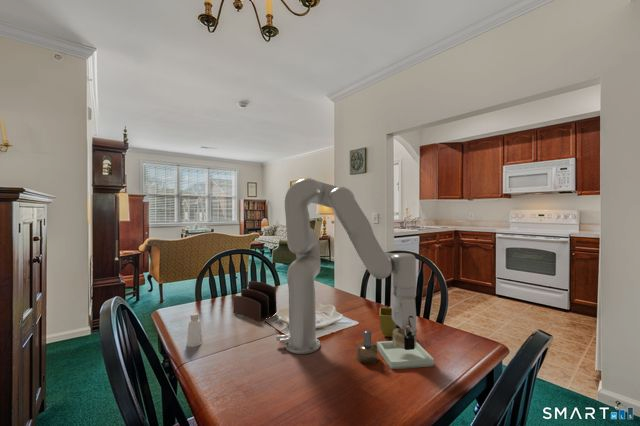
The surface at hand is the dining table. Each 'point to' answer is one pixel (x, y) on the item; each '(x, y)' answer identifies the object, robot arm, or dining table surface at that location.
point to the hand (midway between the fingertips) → (404, 343)
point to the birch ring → (400, 337)
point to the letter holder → (256, 301)
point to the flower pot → (386, 322)
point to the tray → (404, 356)
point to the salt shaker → (194, 331)
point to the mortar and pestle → (367, 350)
